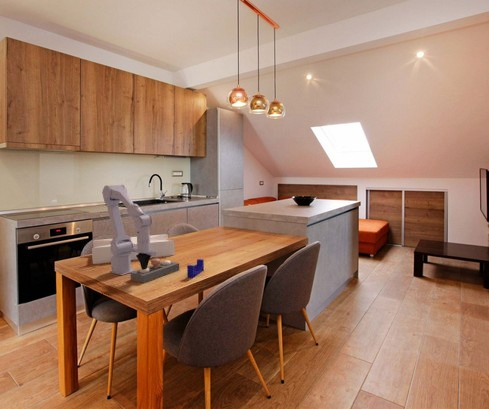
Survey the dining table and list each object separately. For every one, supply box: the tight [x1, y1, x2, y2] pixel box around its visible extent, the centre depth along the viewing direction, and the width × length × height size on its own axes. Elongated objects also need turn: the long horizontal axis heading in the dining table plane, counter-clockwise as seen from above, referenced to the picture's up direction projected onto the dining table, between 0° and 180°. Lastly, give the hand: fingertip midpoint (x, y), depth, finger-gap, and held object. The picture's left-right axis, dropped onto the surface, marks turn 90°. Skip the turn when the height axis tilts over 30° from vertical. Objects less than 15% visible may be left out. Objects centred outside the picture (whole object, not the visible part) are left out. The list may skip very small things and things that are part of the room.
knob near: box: [139, 266, 149, 274], centre depth 149 cm, size 4×4×5 cm
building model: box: [91, 233, 176, 265], centre depth 192 cm, size 45×22×10 cm, turn 114°
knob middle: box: [150, 257, 161, 270], centre depth 155 cm, size 4×4×5 cm
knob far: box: [161, 259, 172, 266], centre depth 161 cm, size 4×4×5 cm
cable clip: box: [186, 258, 205, 279], centre depth 156 cm, size 12×4×6 cm, turn 163°
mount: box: [129, 261, 180, 284], centre depth 155 cm, size 9×23×4 cm, turn 148°
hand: (144, 268), depth 149 cm, fingers closed, pressing on knob near
